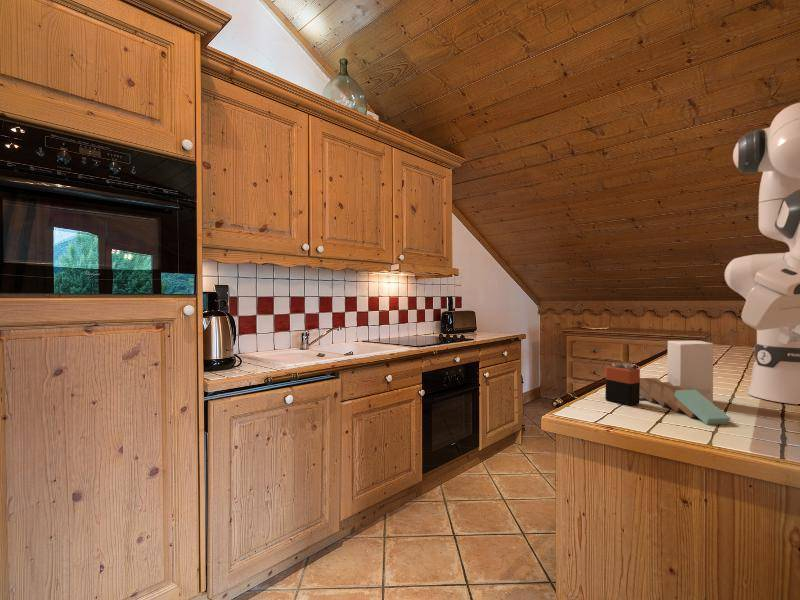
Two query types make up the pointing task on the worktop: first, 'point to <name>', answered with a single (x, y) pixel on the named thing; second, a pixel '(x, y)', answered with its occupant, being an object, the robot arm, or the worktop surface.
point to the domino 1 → (646, 395)
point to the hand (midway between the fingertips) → (788, 341)
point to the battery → (622, 384)
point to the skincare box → (691, 366)
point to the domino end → (701, 407)
